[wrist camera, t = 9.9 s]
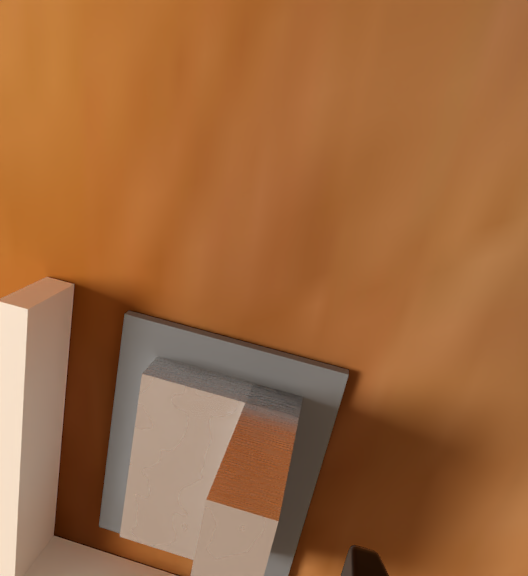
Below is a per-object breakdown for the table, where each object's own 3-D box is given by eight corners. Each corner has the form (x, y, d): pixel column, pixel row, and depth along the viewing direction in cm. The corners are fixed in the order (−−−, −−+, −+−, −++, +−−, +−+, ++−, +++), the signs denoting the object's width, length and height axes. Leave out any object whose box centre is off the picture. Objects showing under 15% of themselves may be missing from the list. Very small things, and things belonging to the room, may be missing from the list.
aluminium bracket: (261, 550, 22) (225, 714, 16) (134, 511, 22) (51, 653, 16) (302, 396, 19) (278, 521, 13) (157, 356, 20) (68, 457, 14)
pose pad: (349, 370, 19) (349, 374, 18) (286, 578, 22) (284, 586, 22) (128, 310, 20) (124, 313, 19) (102, 520, 23) (98, 526, 23)
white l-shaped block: (431, 379, 18) (444, 424, 16) (333, 646, 23) (330, 716, 20) (47, 276, 20) (-4, 300, 17) (30, 546, 25) (-12, 599, 22)
